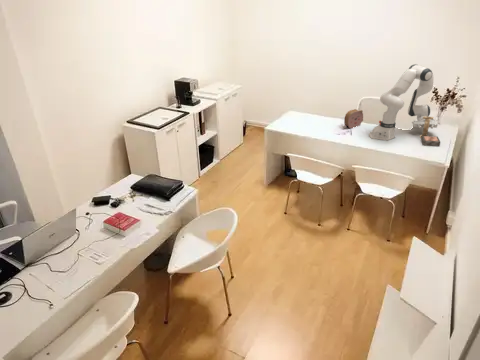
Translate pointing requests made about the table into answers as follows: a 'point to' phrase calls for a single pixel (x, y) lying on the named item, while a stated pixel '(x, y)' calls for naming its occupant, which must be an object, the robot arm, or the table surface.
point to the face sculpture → (353, 118)
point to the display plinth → (430, 141)
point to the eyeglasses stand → (426, 126)
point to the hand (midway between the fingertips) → (426, 127)
